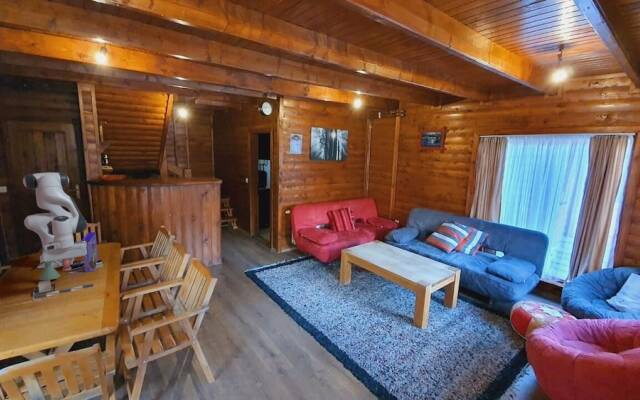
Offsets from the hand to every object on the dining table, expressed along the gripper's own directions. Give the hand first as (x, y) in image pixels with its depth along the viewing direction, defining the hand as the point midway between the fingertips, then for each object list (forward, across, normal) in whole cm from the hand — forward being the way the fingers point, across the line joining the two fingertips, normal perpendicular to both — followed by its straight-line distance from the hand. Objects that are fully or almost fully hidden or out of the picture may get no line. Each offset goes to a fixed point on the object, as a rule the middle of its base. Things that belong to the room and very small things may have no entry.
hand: (66, 265), depth 173 cm
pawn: (+3, 0, 0) cm, 3 cm away
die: (+17, +11, -8) cm, 21 cm away
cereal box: (+17, -14, -34) cm, 40 cm away
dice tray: (+17, +11, -8) cm, 22 cm away
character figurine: (+17, +10, -22) cm, 29 cm away
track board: (+17, +2, 0) cm, 17 cm away
